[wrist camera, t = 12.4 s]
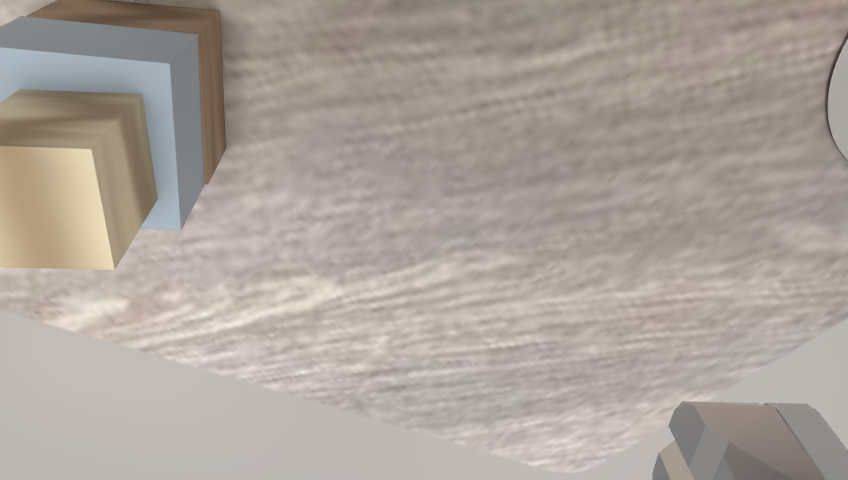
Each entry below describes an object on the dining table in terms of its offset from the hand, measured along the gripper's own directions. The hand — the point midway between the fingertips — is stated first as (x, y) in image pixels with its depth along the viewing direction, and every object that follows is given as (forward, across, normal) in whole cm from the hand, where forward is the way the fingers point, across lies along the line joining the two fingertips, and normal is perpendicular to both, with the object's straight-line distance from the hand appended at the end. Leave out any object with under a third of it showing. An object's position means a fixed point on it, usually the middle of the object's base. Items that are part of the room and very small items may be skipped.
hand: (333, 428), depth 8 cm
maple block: (+23, +12, +7) cm, 27 cm away
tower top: (+28, +12, +7) cm, 31 cm away
